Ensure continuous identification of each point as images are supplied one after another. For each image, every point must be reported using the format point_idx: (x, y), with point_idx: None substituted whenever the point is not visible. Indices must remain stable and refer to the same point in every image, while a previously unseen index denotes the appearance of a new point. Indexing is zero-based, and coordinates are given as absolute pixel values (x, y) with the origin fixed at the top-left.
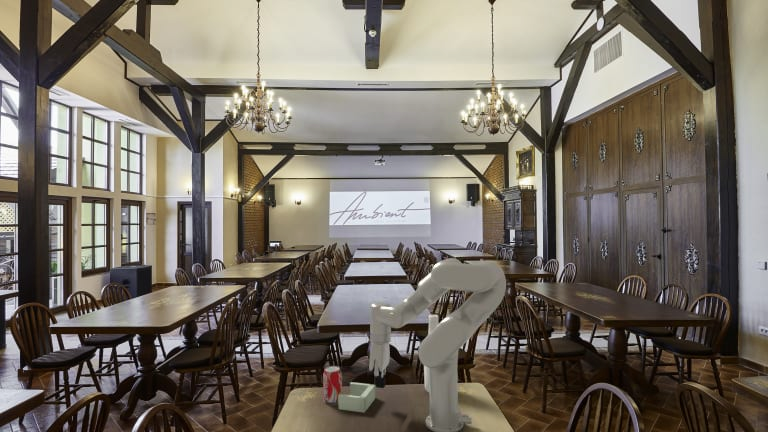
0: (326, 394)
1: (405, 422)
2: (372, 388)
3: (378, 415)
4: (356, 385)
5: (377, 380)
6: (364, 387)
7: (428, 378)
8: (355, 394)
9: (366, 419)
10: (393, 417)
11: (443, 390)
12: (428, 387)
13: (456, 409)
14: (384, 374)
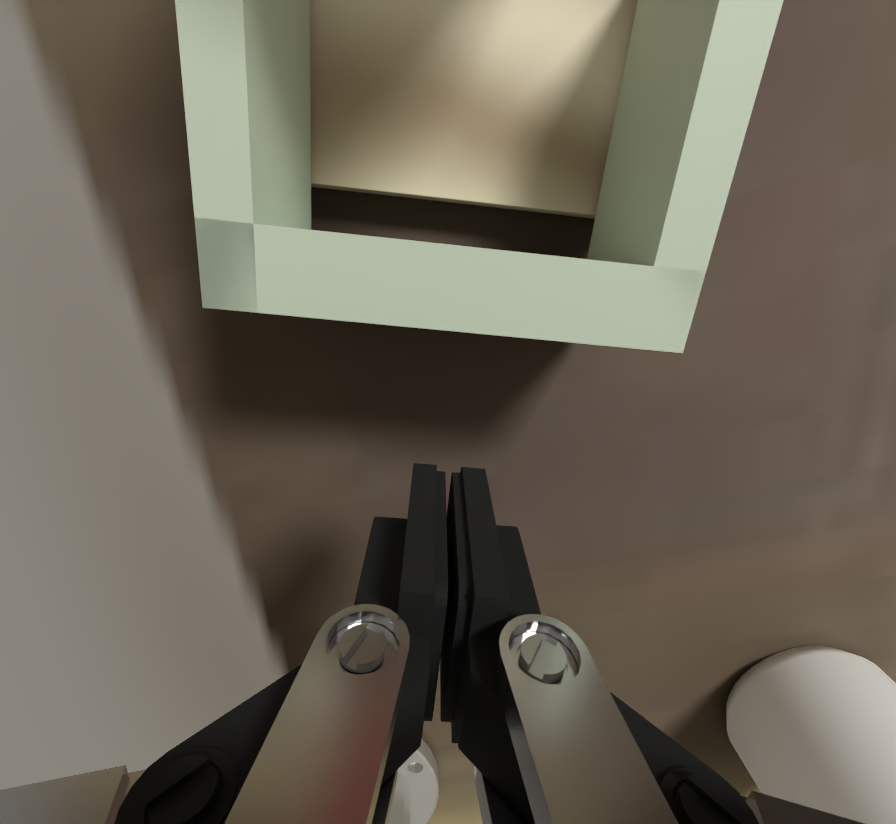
0: None
1: (294, 597)
2: (558, 340)
3: (345, 400)
4: (708, 2)
5: (363, 580)
6: (658, 179)
7: (829, 792)
8: (641, 45)
9: (248, 315)
10: (342, 514)
11: None
12: (772, 706)
13: None
14: (475, 765)
